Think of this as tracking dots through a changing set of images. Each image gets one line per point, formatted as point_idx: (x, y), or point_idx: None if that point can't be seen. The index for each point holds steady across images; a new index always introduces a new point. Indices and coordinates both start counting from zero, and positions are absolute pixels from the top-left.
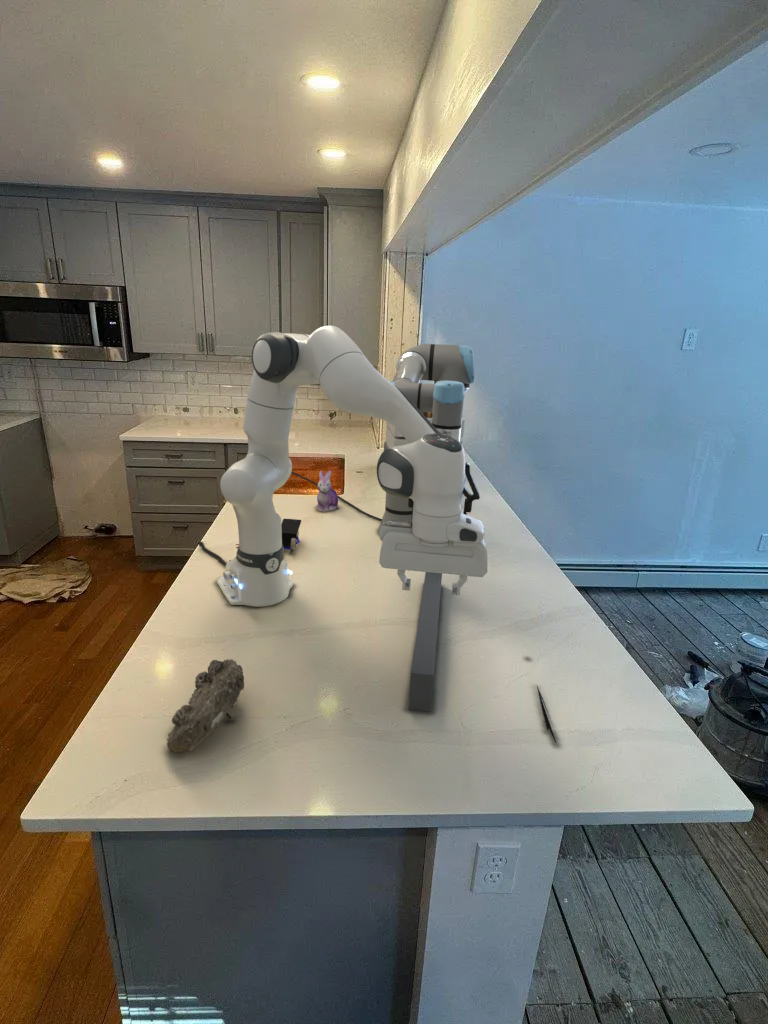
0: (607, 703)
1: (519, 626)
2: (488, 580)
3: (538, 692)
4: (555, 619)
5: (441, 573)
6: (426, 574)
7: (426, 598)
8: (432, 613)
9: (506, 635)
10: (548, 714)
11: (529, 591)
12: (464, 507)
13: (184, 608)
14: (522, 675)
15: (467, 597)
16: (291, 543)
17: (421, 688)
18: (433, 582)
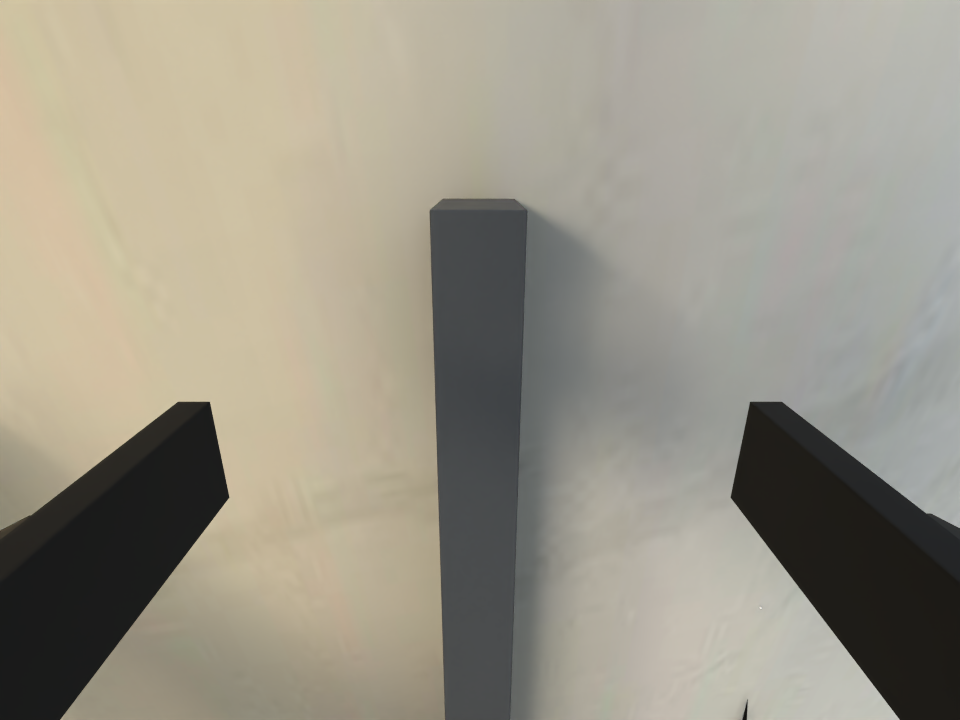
0: (891, 712)
1: None
2: (763, 70)
3: (743, 718)
4: (945, 385)
5: (517, 400)
6: (442, 426)
7: (460, 617)
8: (488, 694)
9: (727, 510)
10: None
11: (939, 158)
12: (866, 674)
13: None
14: (723, 662)
15: (629, 281)
16: None
17: None
18: (481, 494)
